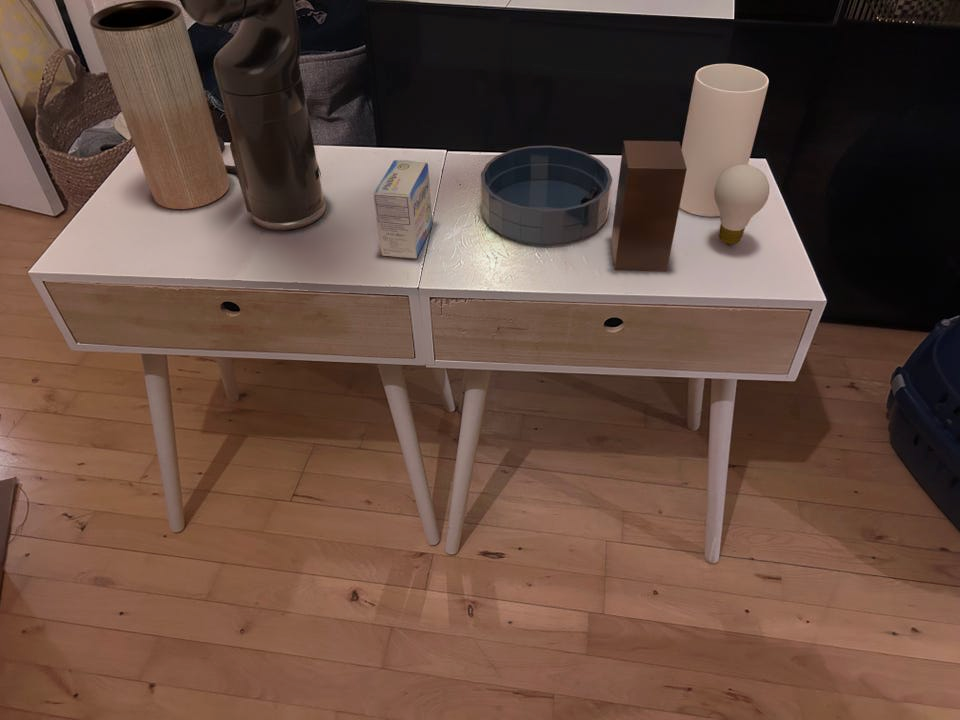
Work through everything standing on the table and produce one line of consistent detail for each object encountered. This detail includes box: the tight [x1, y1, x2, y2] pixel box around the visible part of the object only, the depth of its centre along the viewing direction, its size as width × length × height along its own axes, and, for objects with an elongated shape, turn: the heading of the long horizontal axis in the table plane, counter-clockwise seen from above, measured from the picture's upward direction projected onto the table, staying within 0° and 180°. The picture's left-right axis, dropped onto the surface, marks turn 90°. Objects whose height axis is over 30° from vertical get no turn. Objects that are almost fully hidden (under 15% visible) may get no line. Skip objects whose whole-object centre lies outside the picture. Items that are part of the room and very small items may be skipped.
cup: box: [679, 63, 770, 218], centre depth 90 cm, size 8×8×16 cm
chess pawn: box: [581, 187, 598, 205], centre depth 93 cm, size 2×2×3 cm
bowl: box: [480, 145, 613, 246], centre depth 93 cm, size 16×16×5 cm
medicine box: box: [373, 159, 434, 260], centre depth 87 cm, size 8×4×9 cm, turn 168°
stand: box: [610, 140, 687, 272], centre depth 83 cm, size 6×6×13 cm
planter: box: [89, 0, 230, 210], centre depth 92 cm, size 10×10×23 cm
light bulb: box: [714, 164, 770, 246], centre depth 85 cm, size 6×6×10 cm
